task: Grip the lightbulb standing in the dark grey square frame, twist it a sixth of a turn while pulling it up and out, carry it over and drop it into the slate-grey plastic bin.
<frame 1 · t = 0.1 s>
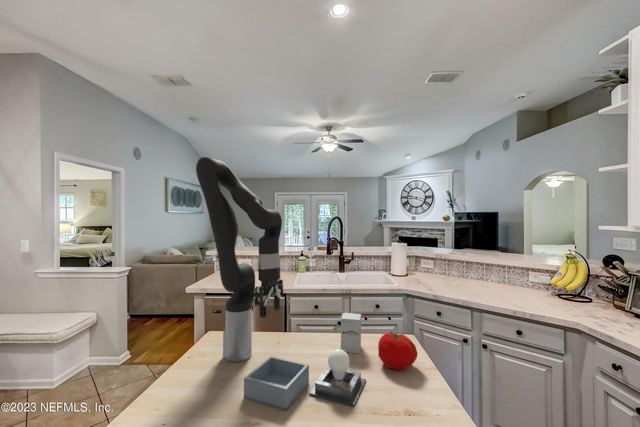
hand: (270, 313, 97), 17 cm above the countertop, tool pointing down, fingers open, 8 cm apart
dark grey square frame: (338, 387, 83), on the countertop
tomato: (396, 366, 95), on the countertop
lightbulb: (338, 388, 83), resting in dark grey square frame
supplement box: (351, 349, 108), on the countertop
bin: (277, 390, 81), on the countertop
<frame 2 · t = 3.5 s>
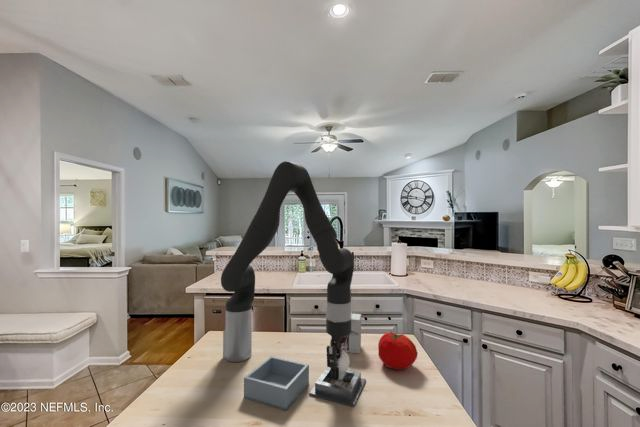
hand: (338, 373, 83), 4 cm above the countertop, tool pointing down, fingers closed on lightbulb, 6 cm apart
lightbulb: (338, 388, 83), resting in dark grey square frame, touching gripper
everything else where it was.
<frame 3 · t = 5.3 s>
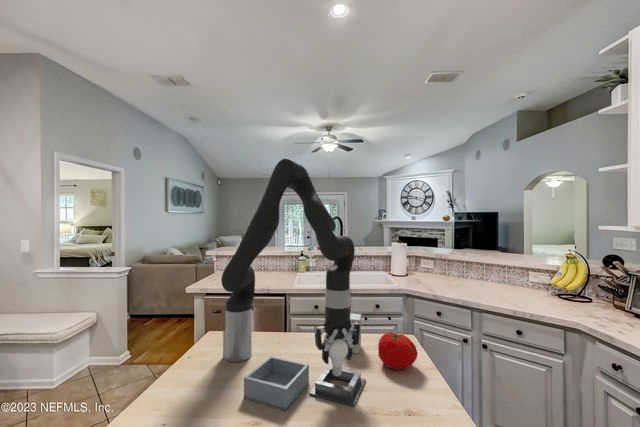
hand: (337, 360, 82), 8 cm above the countertop, tool pointing down, fingers closed on lightbulb, 6 cm apart
lightbulb: (337, 376, 82), point 4 cm above the countertop, touching gripper
everything else where it was.
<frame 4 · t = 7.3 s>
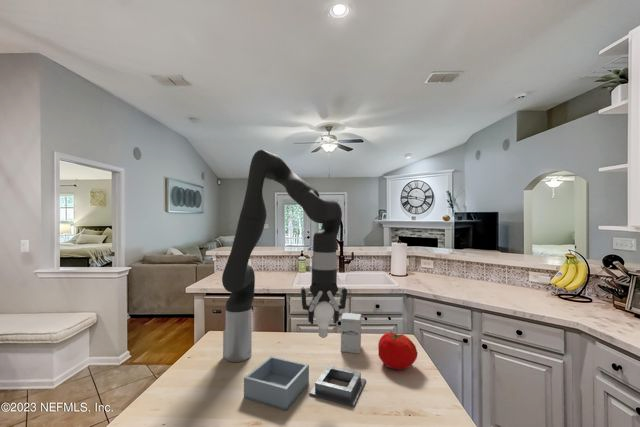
hand: (323, 322, 83), 19 cm above the countertop, tool pointing down, fingers closed on lightbulb, 6 cm apart
lightbulb: (323, 338, 83), point 14 cm above the countertop, touching gripper
everything else where it was.
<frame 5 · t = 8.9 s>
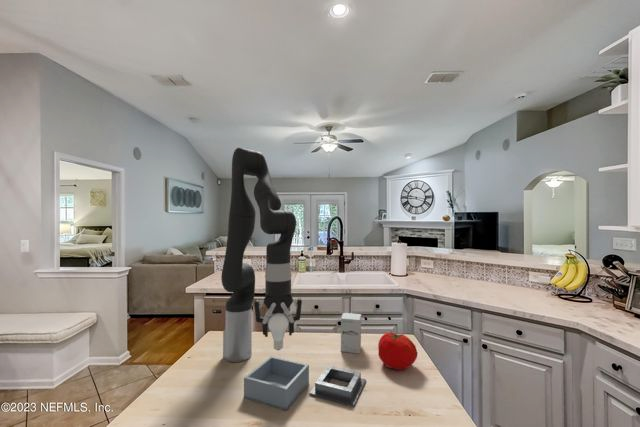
hand: (278, 335, 82), 16 cm above the countertop, tool pointing down, fingers closed on lightbulb, 6 cm apart
lightbulb: (278, 350, 82), point 11 cm above the countertop, touching gripper
everything else where it was.
when the fingers open (7 cm above the countertop, at t = 10.6 s): lightbulb drops 2 cm, resting on bin.
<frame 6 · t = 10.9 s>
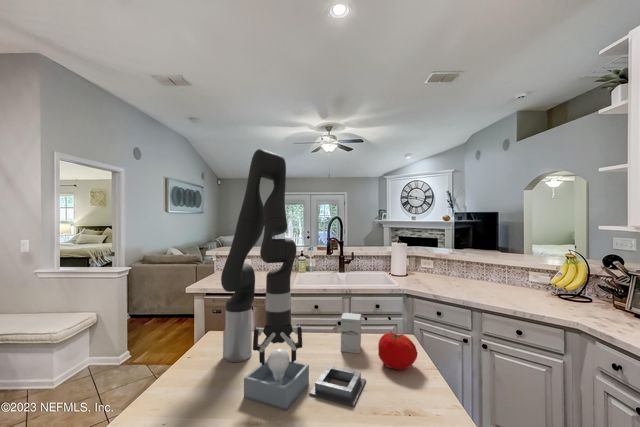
hand: (277, 362, 82), 8 cm above the countertop, tool pointing down, fingers open, 8 cm apart
lightbulb: (278, 388, 81), resting on bin
everything else where it was.
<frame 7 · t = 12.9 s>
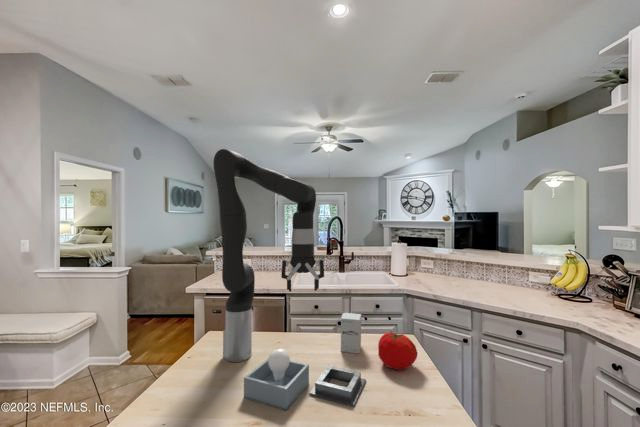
hand: (302, 290, 94), 26 cm above the countertop, tool pointing down, fingers open, 8 cm apart
nothing on the countertop moved.
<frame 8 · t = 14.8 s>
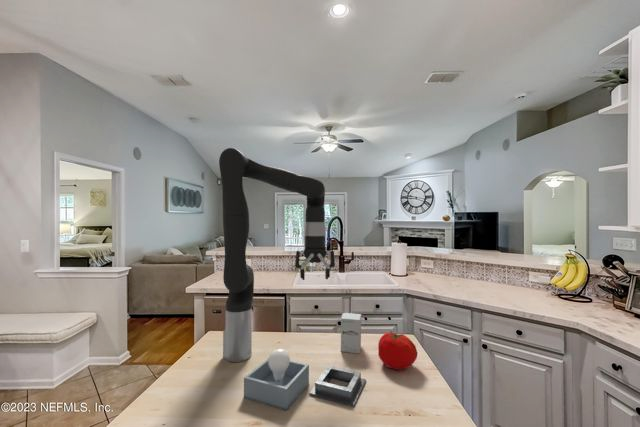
hand: (315, 279, 102), 28 cm above the countertop, tool pointing down, fingers open, 8 cm apart
nothing on the countertop moved.
at the end: lightbulb inside the target area on the bin (0.4 cm from its centre), point 0.4 cm above the bin's base; the gripper is holding nothing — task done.
